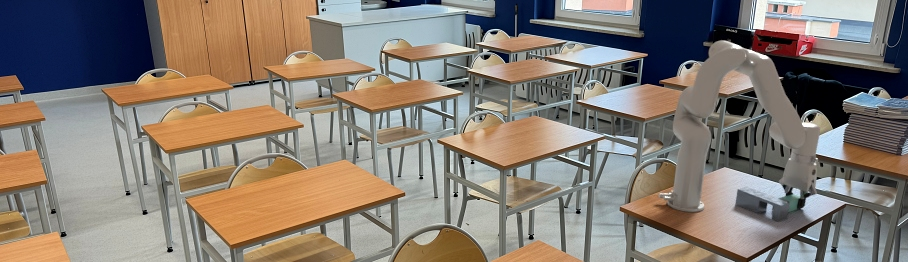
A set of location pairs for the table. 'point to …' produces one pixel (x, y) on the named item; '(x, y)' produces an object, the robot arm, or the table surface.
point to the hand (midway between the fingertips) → (794, 205)
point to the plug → (791, 201)
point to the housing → (762, 203)
